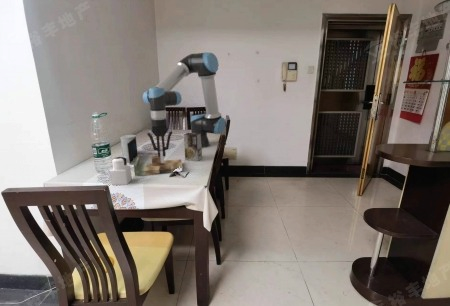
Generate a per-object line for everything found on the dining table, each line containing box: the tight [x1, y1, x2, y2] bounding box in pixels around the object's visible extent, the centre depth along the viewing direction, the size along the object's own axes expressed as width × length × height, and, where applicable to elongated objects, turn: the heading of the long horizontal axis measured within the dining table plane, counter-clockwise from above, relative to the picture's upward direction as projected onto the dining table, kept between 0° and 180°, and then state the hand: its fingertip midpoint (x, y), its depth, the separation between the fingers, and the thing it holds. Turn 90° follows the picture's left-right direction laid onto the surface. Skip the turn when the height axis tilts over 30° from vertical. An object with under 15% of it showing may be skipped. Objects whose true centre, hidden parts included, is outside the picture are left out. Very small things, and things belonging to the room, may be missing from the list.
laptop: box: [127, 136, 158, 166], centre depth 144 cm, size 18×12×13 cm
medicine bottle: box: [109, 156, 132, 186], centre depth 111 cm, size 7×7×12 cm
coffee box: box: [183, 132, 203, 162], centre depth 145 cm, size 9×6×16 cm
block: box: [152, 155, 161, 166], centre depth 128 cm, size 4×4×4 cm
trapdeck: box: [133, 157, 184, 177], centre depth 129 cm, size 24×15×6 cm, turn 103°
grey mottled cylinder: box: [119, 134, 139, 157], centre depth 156 cm, size 10×10×12 cm
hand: (162, 162), depth 128 cm, fingers closed
